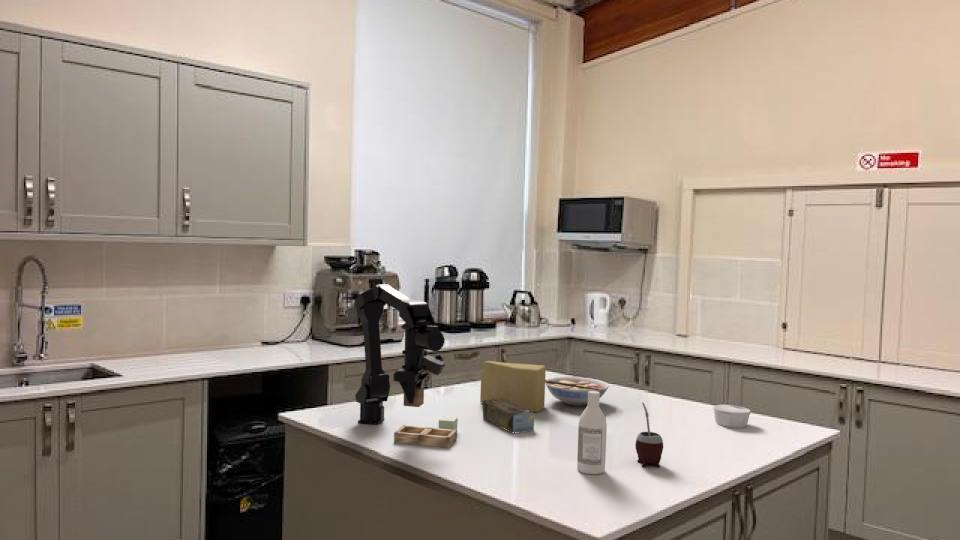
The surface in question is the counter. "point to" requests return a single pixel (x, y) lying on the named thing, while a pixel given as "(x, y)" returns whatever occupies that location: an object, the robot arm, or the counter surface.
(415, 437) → the box
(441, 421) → the sage cube
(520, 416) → the beverage carton
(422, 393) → the walnut cube
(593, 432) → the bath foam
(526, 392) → the cheese
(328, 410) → the counter surface
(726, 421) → the ramekin
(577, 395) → the ramen bowl
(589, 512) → the counter surface
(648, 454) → the mate gourd
